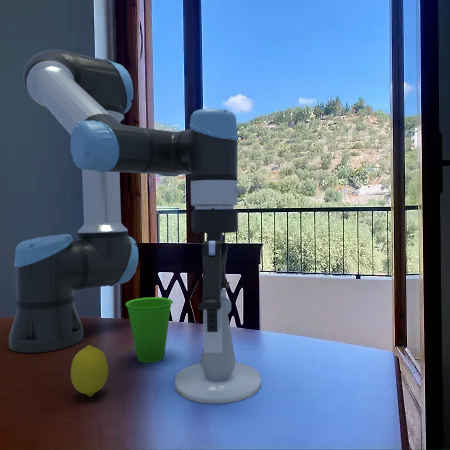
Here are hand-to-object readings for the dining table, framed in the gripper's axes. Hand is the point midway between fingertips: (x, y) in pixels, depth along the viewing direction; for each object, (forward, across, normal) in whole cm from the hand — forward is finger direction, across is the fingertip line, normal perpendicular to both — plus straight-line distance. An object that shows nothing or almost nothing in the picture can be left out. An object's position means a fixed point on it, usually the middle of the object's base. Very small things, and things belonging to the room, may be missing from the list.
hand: (216, 337), depth 68 cm
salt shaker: (+7, 0, 0) cm, 7 cm away
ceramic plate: (+8, 0, 0) cm, 8 cm away
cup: (+8, +12, +14) cm, 20 cm away
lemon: (+8, -5, +19) cm, 21 cm away
